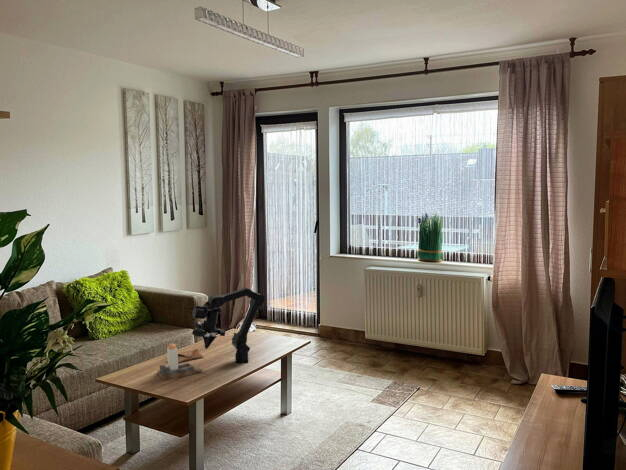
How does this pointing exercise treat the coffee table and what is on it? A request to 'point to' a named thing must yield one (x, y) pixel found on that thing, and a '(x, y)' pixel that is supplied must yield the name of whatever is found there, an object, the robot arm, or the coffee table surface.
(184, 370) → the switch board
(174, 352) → the white tall boxy piece
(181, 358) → the sunglasses case
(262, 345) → the coffee table surface
